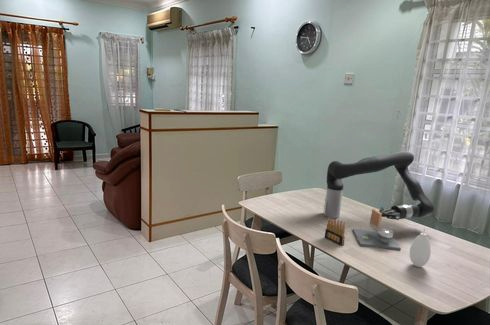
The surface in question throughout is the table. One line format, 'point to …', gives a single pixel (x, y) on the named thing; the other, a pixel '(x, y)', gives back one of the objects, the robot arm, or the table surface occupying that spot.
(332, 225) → the ammunition clip
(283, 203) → the table surface
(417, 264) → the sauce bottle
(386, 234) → the twist collar
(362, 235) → the lock base
